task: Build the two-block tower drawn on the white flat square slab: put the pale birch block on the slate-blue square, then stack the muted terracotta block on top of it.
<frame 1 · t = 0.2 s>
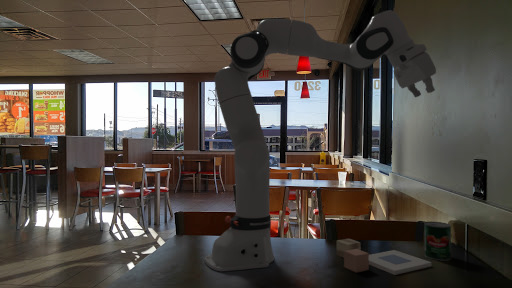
hand: (424, 94, 110), 54 cm above the table, tool tilted 30°, fingers open, 8 cm apart
white flat square slab: (394, 263, 107), on the table
birch block: (348, 256, 114), on the table
canned tomato: (437, 257, 113), on the table
terracotta block: (356, 268, 102), on the table
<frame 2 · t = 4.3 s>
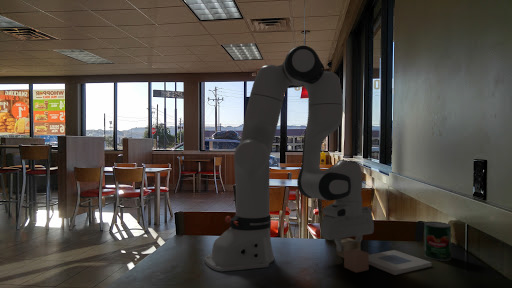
hand: (348, 249, 114), 2 cm above the table, tool pointing down, fingers closed on birch block, 5 cm apart
birch block: (348, 256, 114), on the table, touching gripper
everything else where it was.
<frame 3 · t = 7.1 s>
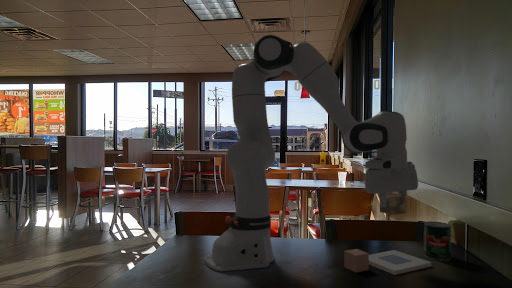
hand: (392, 206, 107), 18 cm above the table, tool pointing down, fingers closed on birch block, 5 cm apart
birch block: (392, 212, 107), point 16 cm above the table, touching gripper
everything else where it was.
when the fingers open (5 cm above the table, at t = 10.0 s): birch block drops 1 cm, resting on white flat square slab.
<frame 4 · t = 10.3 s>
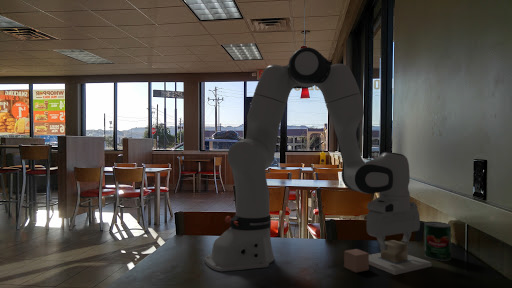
hand: (394, 247, 107), 5 cm above the table, tool pointing down, fingers open, 8 cm apart
birch block: (394, 259, 107), point 1 cm above the table, touching white flat square slab
everything else where it was.
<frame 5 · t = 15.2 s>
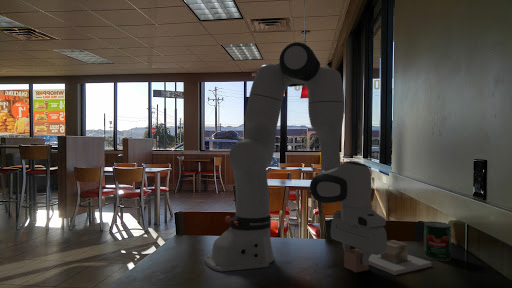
hand: (356, 261, 102), 2 cm above the table, tool pointing down, fingers closed on terracotta block, 5 cm apart
terracotta block: (356, 268, 102), on the table, touching gripper
everything else where it was.
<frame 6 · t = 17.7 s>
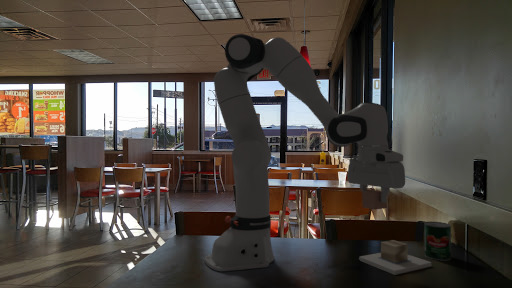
hand: (374, 200, 104), 20 cm above the table, tool pointing down, fingers closed on terracotta block, 5 cm apart
terracotta block: (374, 207, 104), point 18 cm above the table, touching gripper
everything else where it was.
when the fingers open (10 cm above the table, at t = 20.4 s): terracotta block drops 1 cm, resting on birch block.
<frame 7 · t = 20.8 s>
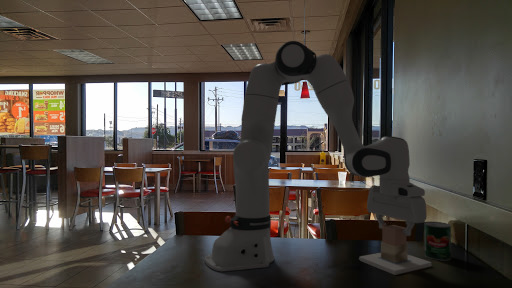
hand: (394, 231, 107), 10 cm above the table, tool pointing down, fingers open, 8 cm apart
birch block: (394, 259, 107), point 1 cm above the table, touching white flat square slab, terracotta block
terracotta block: (394, 243, 107), point 6 cm above the table, touching birch block
everything else where it was.
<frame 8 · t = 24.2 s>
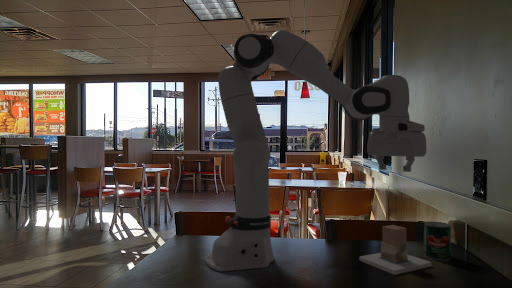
hand: (394, 170, 107), 29 cm above the table, tool pointing down, fingers open, 8 cm apart
nothing on the table moved.
at the end: birch block 0.1 cm off-centre on the white flat square slab, point 1.3 cm above the white flat square slab's base; terracotta block 0.0 cm off-centre on the birch block, point 5.0 cm above the birch block's base; terracotta block tilted 0° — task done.
